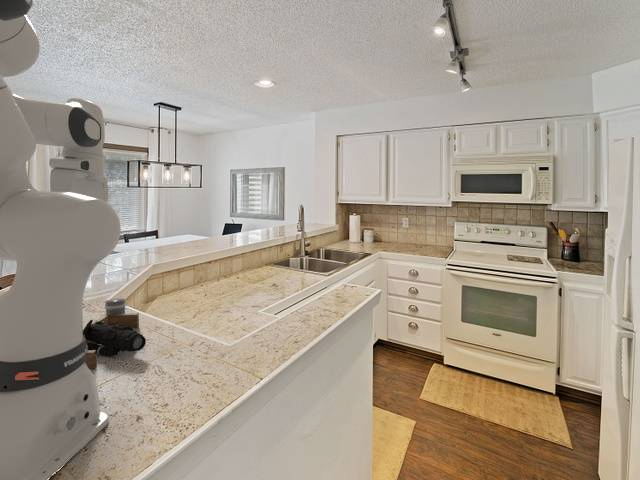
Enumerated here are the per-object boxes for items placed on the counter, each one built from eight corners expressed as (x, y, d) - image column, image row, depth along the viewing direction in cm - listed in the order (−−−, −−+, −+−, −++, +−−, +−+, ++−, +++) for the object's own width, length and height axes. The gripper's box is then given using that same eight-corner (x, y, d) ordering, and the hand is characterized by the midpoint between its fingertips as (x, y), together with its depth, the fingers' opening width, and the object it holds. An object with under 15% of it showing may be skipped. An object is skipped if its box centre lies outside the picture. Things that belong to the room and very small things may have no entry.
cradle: (94, 369, 73) (93, 352, 73) (47, 371, 72) (46, 354, 71) (138, 326, 99) (138, 313, 99) (105, 327, 97) (105, 314, 97)
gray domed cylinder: (121, 325, 99) (120, 303, 98) (102, 325, 98) (101, 303, 98) (128, 319, 104) (128, 298, 104) (110, 319, 104) (109, 298, 103)
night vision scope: (142, 368, 79) (110, 355, 72) (94, 354, 86) (60, 341, 78) (159, 336, 83) (130, 321, 76) (111, 326, 90) (81, 311, 82)
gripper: (91, 170, 95) (90, 217, 96) (44, 158, 75) (43, 218, 76) (115, 172, 96) (113, 219, 97) (74, 160, 76) (73, 220, 77)
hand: (82, 218), depth 86 cm, fingers closed
